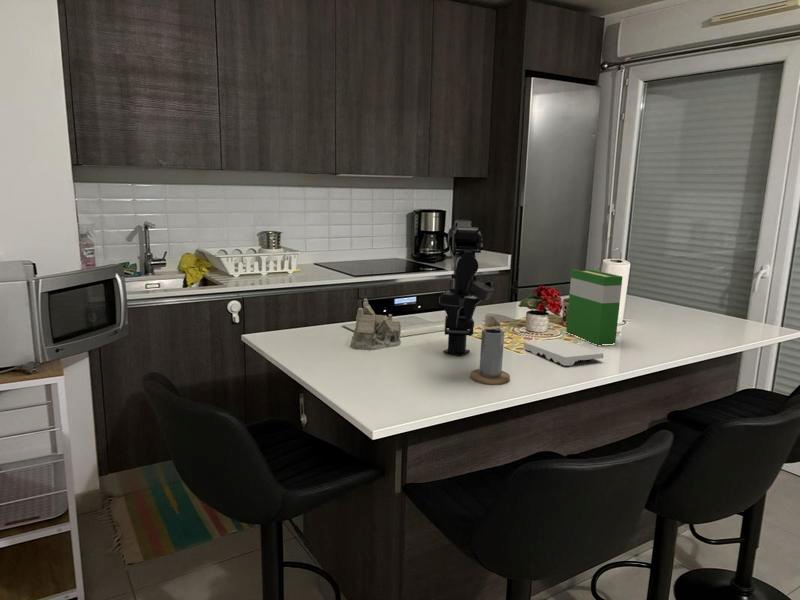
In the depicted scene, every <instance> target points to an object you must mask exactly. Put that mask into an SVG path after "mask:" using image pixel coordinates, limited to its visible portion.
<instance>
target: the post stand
mask: <svg viewBox="0 0 800 600" xmlns="http://www.w3.org/2000/svg"><path fill="white" fill-rule="evenodd" d="M479 370H480V368H477V369H473V370H471V371H470V373H469V379H471V380H472V381H474V382H475V383H479V384H483V385H489V386H495V385H496V386H497V385H498V386H499V385H505V384H508V383H509V382H510V381H511V375H510V373H507V372H506V371H503V370H502V372H501V376H500V377H499V378H487V377H482V376H481V375H480V374H479Z"/></svg>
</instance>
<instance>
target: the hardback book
mask: <svg viewBox="0 0 800 600" xmlns="http://www.w3.org/2000/svg"><path fill="white" fill-rule="evenodd" d="M570 273H571V274H570V275H571V276H570V285H569V287H570V288H569V295H568V296H569V297H568V306H567V317H566V329H565V333H566V332H568V333H570V334H573V335H576V336H578V337H580V338H583V339H585V340H587V341H589V342H591V343H594V344H597V345H602V344H613V343H615V344H616V342H617V332H618V323H619V312H620V304H621V295H622V285H623V276H622V275H617V274H613V273H609V272H603V271H600V270H599V271H598V270H595V269H590V268H586V270H578V269H575V268H574V269H573V268H572V269H571V272H570ZM591 343H590V344H591Z"/></svg>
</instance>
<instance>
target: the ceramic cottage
mask: <svg viewBox="0 0 800 600" xmlns="http://www.w3.org/2000/svg"><path fill="white" fill-rule="evenodd" d="M362 305H363V308H362V307H359V308H358V309H357V314H356V316H355V329H354V330H353V335H352V336H351V339H350V340H351V342H350V346H349V347H350V348H352V349H354V350H360V351H375V350H383V349H387V348H394V347H395V348H396V347H399V346H400V345H401V338H400V336H401V332H402V331H401V321H398V320H396V321H394V320H393V314H391V313H389V314H388V316H387V315H386V314H385V315H382V314H376V313H375V311H374V310H373V309H372V307H371V305H370V304H369V301H368V298H364V299H363V303H362Z"/></svg>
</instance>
